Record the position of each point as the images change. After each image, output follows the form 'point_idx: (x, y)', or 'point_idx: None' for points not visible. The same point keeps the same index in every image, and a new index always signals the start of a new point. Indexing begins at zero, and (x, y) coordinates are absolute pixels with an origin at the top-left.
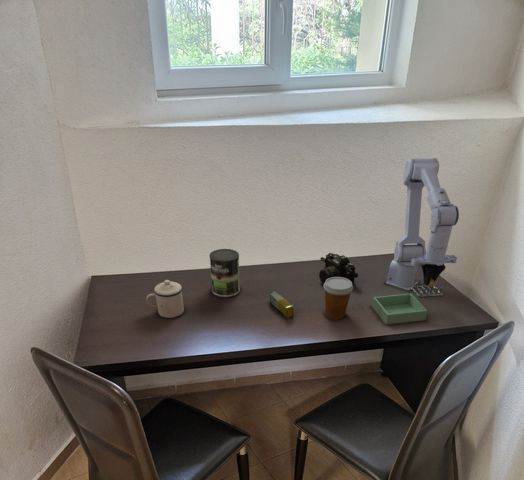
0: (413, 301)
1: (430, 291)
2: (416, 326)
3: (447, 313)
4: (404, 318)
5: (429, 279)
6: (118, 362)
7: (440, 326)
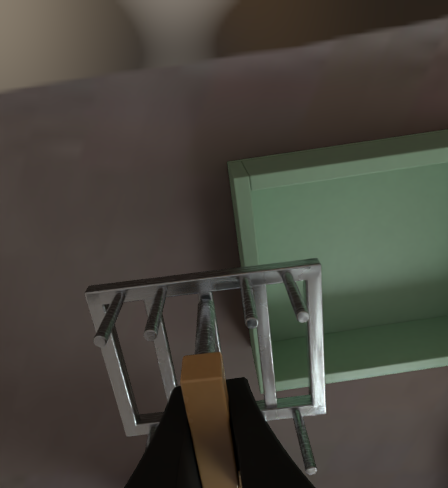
0: None
1: (212, 315)
2: (305, 100)
3: (58, 242)
4: (391, 144)
5: (247, 430)
6: None
7: (147, 90)
